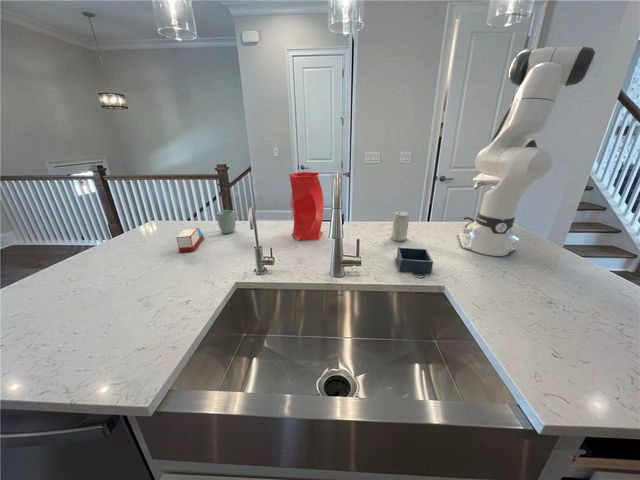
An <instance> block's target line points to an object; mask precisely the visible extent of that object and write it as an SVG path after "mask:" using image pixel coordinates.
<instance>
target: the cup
mask: <svg viewBox="0 0 640 480" xmlns="http://www.w3.org/2000/svg"><path fill="white" fill-rule="evenodd" d="M216 218H217V224H218V228H219V230H220V232H221V233H223V234H231V233H233V232H234V231H235V230H236V227H237V226H236V225H237V224H236V216H235V211H234V210H233V209H223V210H219V211H217V212H216Z"/></svg>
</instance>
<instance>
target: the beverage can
mask: <svg viewBox="0 0 640 480" xmlns="http://www.w3.org/2000/svg"><path fill="white" fill-rule="evenodd" d="M409 215H410V214H409V213H408V212H406V211H395V212H394V215H393V218H392V228H391V229H392V230H391V239H392V240H394V241H396V242H405V240H407V237H408V228H409V222H410V216H409Z"/></svg>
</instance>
